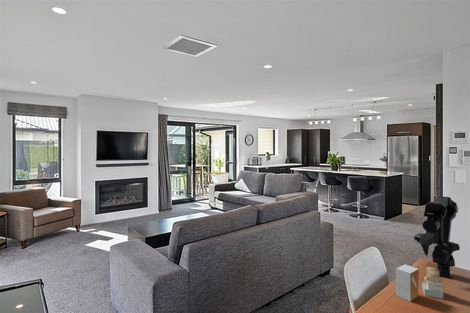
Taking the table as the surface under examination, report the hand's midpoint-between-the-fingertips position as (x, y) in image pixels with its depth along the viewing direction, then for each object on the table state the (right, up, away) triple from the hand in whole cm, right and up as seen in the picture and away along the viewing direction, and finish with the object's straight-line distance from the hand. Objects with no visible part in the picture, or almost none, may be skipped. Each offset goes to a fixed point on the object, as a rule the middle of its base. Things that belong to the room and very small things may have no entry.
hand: (435, 258), depth 136 cm
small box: (-20, -14, -10) cm, 26 cm away
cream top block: (-7, -10, -8) cm, 15 cm away
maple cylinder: (-7, -7, -8) cm, 13 cm away
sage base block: (-7, -14, -8) cm, 18 cm away
